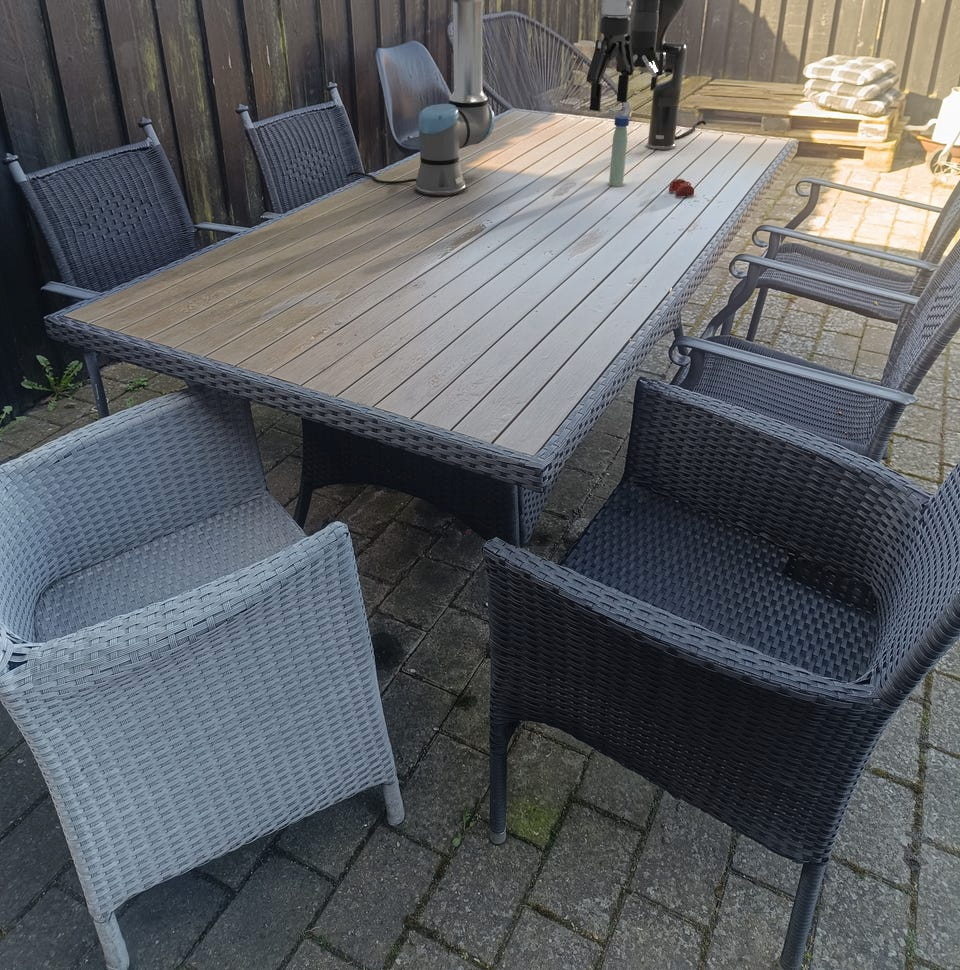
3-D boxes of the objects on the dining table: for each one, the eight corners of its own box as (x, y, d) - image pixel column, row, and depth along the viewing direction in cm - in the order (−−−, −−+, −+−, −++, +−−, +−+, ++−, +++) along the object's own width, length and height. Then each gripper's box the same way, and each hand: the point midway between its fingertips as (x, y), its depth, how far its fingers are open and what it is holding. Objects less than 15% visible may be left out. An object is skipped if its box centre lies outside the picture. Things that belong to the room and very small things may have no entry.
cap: (612, 126, 252) (613, 117, 251) (615, 122, 255) (616, 114, 254) (627, 127, 251) (627, 119, 249) (629, 124, 254) (630, 115, 253)
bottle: (607, 185, 262) (613, 119, 251) (610, 181, 265) (616, 116, 254) (621, 187, 261) (627, 120, 250) (624, 183, 264) (630, 117, 253)
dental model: (685, 174, 256) (697, 182, 250) (683, 188, 258) (695, 196, 252) (668, 176, 255) (679, 184, 249) (666, 190, 257) (678, 199, 251)
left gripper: (602, 22, 204) (595, 116, 216) (653, 12, 219) (644, 100, 232) (576, 19, 207) (570, 112, 220) (628, 10, 223) (620, 96, 236)
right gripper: (672, 28, 244) (665, 88, 254) (624, 25, 249) (619, 84, 259) (664, 31, 239) (658, 93, 248) (616, 28, 244) (611, 89, 253)
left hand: (608, 106), depth 226 cm, fingers open, 13 cm apart
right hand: (638, 89), depth 254 cm, fingers open, 8 cm apart
